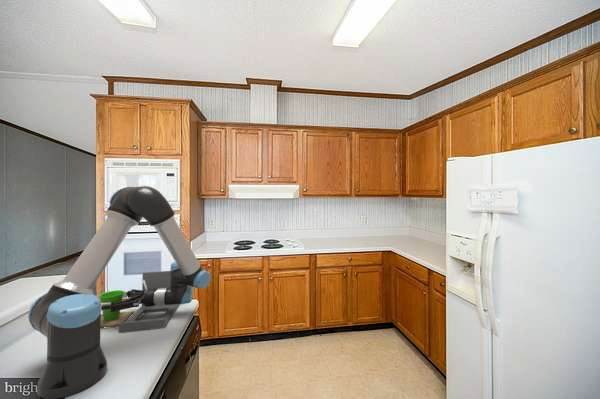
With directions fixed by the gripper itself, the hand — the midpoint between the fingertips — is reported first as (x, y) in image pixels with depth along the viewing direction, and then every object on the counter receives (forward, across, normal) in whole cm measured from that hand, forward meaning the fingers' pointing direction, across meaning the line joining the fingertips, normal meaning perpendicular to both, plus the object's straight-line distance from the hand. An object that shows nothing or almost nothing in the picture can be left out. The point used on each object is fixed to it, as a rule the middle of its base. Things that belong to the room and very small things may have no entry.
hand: (102, 301), depth 109 cm
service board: (-3, 0, -9) cm, 10 cm away
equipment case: (-20, 0, -9) cm, 22 cm away
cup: (-3, 0, -8) cm, 9 cm away
